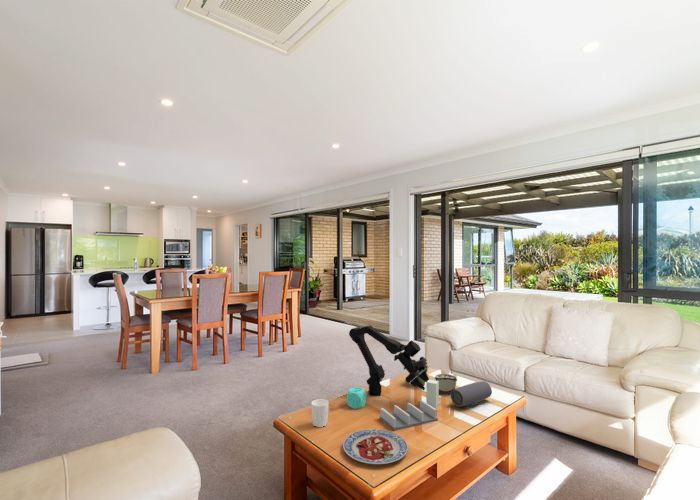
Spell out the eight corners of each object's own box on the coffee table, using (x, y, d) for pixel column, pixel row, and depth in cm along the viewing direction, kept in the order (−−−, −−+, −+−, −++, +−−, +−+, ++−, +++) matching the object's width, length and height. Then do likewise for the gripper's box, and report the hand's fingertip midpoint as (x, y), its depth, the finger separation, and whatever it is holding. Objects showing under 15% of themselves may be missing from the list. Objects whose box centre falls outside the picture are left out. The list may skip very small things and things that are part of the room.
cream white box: (436, 409, 179) (436, 383, 180) (426, 407, 182) (426, 382, 182) (438, 406, 183) (438, 381, 184) (429, 404, 186) (429, 379, 186)
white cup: (331, 422, 166) (331, 400, 166) (324, 429, 158) (324, 407, 159) (315, 419, 168) (315, 398, 169) (308, 426, 161) (308, 404, 161)
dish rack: (379, 418, 170) (379, 407, 170) (421, 409, 180) (421, 399, 180) (393, 430, 158) (394, 419, 158) (437, 420, 168) (437, 409, 168)
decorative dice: (346, 407, 182) (346, 391, 182) (351, 401, 189) (352, 386, 189) (361, 409, 179) (361, 393, 179) (366, 403, 187) (366, 388, 187)
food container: (455, 391, 204) (455, 374, 204) (457, 395, 198) (457, 377, 198) (433, 390, 205) (433, 373, 205) (434, 394, 199) (434, 376, 199)
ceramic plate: (334, 440, 150) (334, 433, 150) (388, 429, 159) (388, 422, 159) (358, 476, 126) (358, 467, 126) (420, 460, 135) (420, 452, 135)
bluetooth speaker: (478, 396, 197) (478, 378, 197) (492, 402, 189) (492, 383, 190) (449, 405, 185) (449, 385, 185) (464, 411, 177) (464, 391, 177)
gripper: (411, 357, 179) (432, 383, 173) (423, 348, 195) (443, 372, 189) (396, 370, 183) (417, 396, 177) (409, 361, 199) (429, 384, 193)
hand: (427, 386), depth 184 cm, fingers open, 9 cm apart
